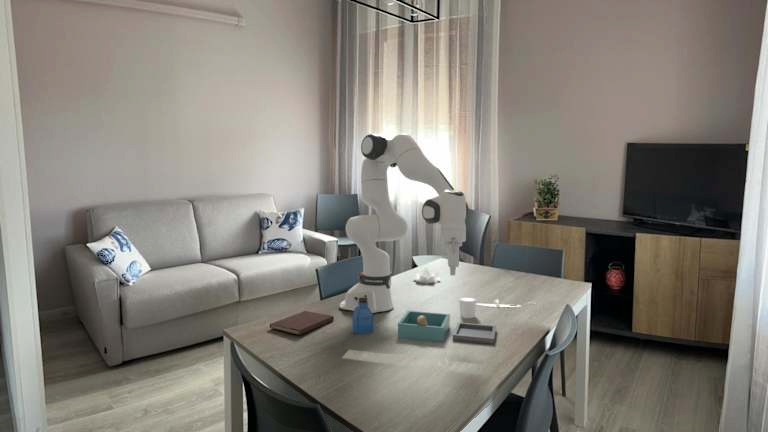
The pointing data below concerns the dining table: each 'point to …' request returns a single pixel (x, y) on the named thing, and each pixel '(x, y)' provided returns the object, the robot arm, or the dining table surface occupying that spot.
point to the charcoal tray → (474, 333)
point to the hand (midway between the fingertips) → (452, 274)
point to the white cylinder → (467, 307)
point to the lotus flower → (427, 277)
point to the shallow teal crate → (424, 326)
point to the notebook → (301, 322)
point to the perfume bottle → (362, 318)
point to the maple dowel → (422, 320)
